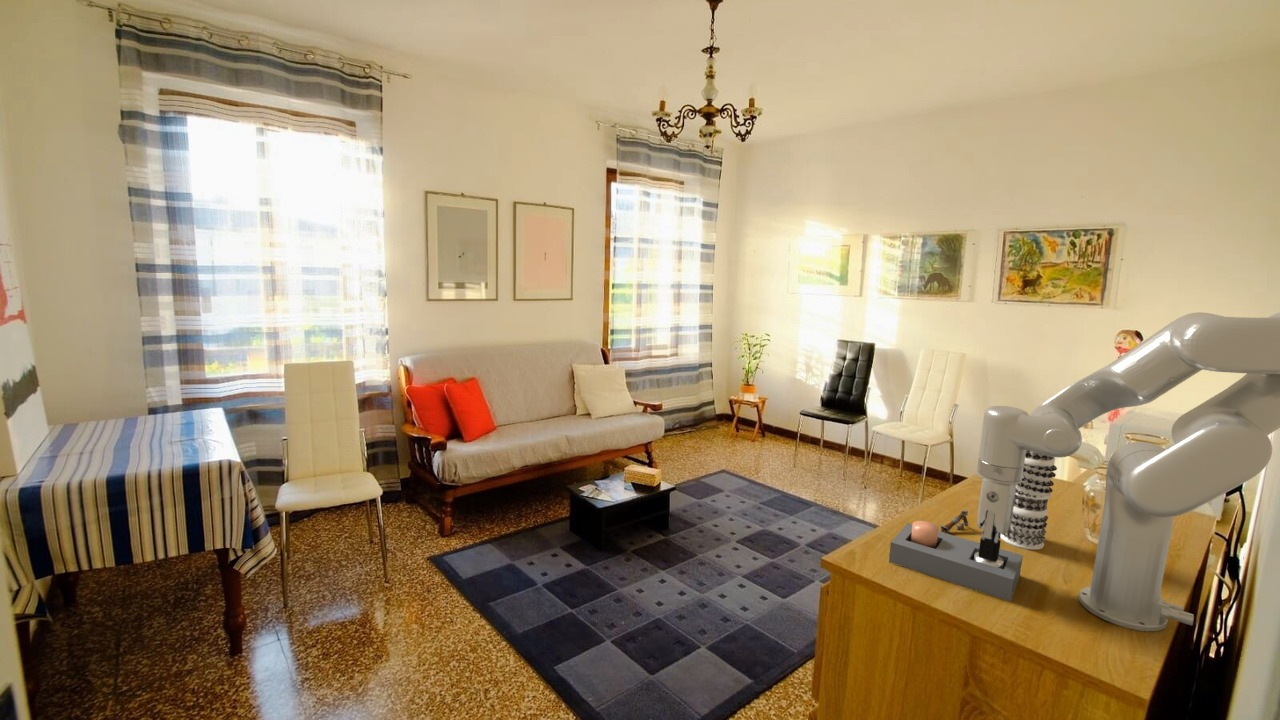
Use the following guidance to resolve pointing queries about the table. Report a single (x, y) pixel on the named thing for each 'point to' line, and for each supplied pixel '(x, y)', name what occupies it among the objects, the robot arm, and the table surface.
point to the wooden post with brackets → (955, 521)
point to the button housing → (957, 563)
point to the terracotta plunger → (925, 533)
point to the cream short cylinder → (989, 561)
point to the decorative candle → (1031, 503)
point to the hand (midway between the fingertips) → (988, 557)
